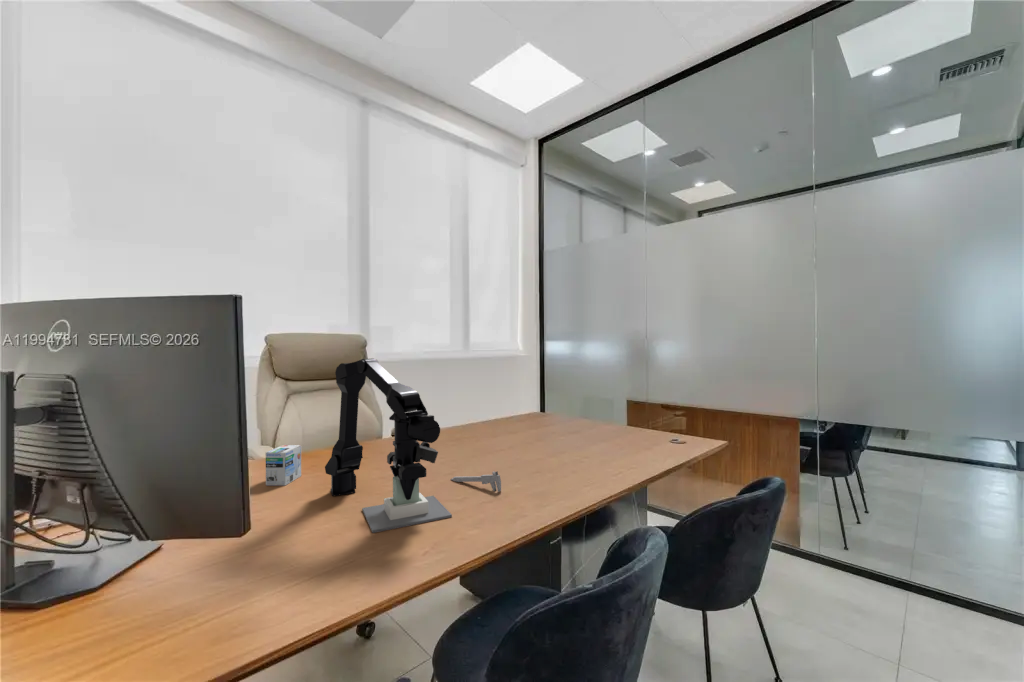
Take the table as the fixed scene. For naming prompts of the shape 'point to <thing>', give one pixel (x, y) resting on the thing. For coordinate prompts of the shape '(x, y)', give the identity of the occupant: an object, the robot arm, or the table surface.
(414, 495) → the key block
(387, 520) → the socket tray
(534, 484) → the table surface
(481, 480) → the caliper
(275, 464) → the light bulb box
